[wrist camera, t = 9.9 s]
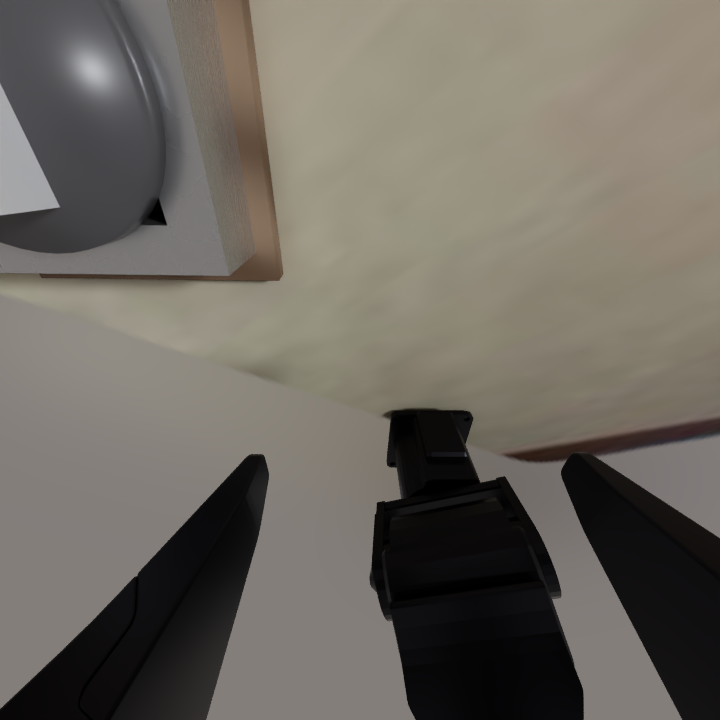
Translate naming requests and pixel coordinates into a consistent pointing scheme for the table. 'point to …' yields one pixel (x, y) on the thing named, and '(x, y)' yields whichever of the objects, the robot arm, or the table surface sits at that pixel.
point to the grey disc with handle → (75, 126)
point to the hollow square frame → (176, 159)
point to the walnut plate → (251, 145)
